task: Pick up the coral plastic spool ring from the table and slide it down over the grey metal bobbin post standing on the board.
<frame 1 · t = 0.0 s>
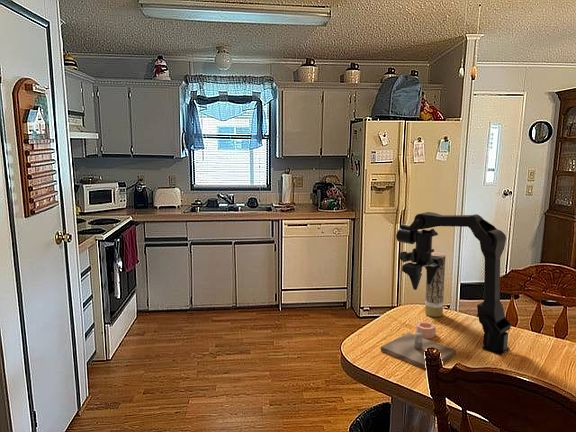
hand: (422, 286, 167), 15 cm above the table, tool pointing down, fingers open, 9 cm apart
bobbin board: (417, 352, 146), on the table
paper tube: (433, 314, 178), on the table
spool ring: (425, 334, 160), on the table
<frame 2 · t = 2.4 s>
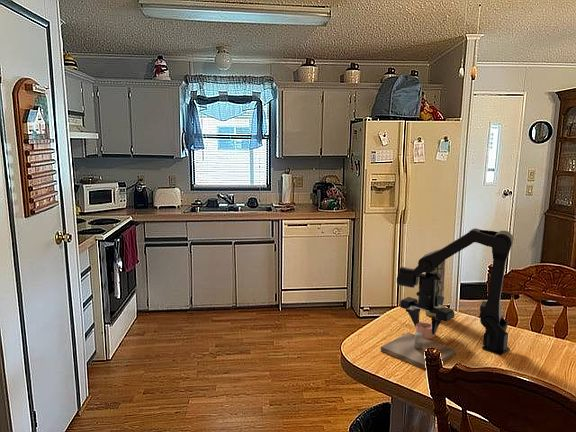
hand: (425, 331, 160), 1 cm above the table, tool pointing down, fingers closed on spool ring, 6 cm apart
spool ring: (425, 334, 160), on the table, touching gripper
everything else where it was.
when the fingers open (4 cm above the table, at t = 8.0 s): spool ring drops 2 cm, resting on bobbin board.
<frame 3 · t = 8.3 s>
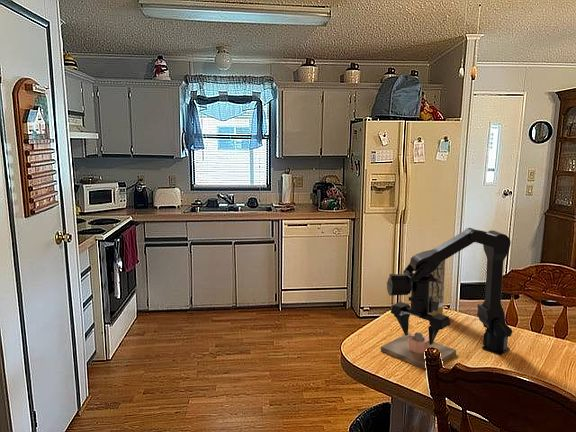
hand: (418, 339, 146), 4 cm above the table, tool pointing down, fingers open, 9 cm apart
spool ring: (418, 348, 146), point 1 cm above the table, touching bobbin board
everything else where it was.
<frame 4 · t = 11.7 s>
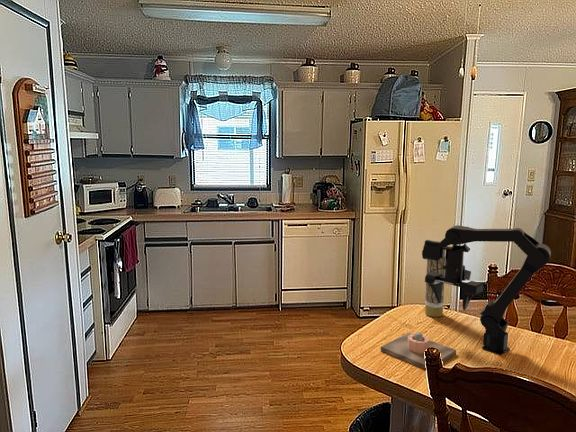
hand: (451, 306, 154), 12 cm above the table, tool pointing down, fingers open, 9 cm apart
nothing on the table moved.
at the end: spool ring 0.0 cm off-centre on the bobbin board, point 1.5 cm above the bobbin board's base; the gripper is holding nothing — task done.
